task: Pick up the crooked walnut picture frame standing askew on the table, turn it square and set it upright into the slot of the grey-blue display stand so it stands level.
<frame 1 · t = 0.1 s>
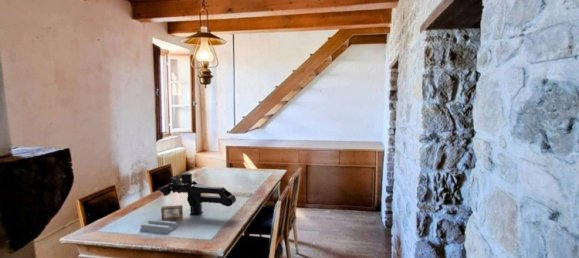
hand: (162, 186, 215), 16 cm above the table, tool horizontal, fingers open, 9 cm apart
picture frame: (172, 220, 198), on the table
display stand: (159, 228, 185), on the table
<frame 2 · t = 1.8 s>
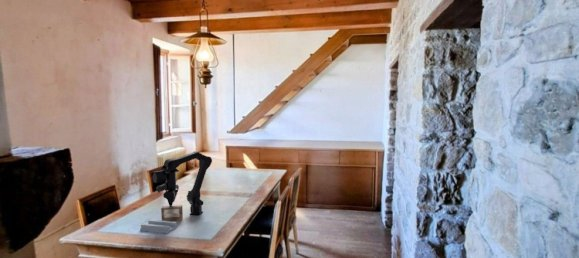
hand: (171, 204, 197), 10 cm above the table, tool pointing down, fingers open, 9 cm apart
nothing on the table moved.
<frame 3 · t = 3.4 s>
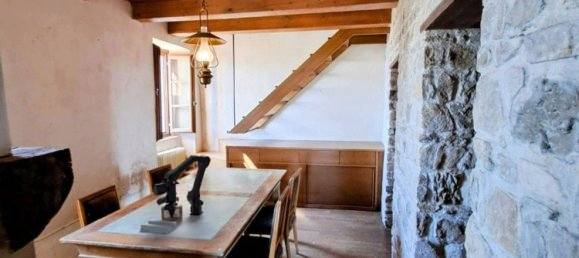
hand: (172, 216, 198), 3 cm above the table, tool pointing down, fingers closed on picture frame, 3 cm apart
picture frame: (172, 220, 198), on the table, touching gripper
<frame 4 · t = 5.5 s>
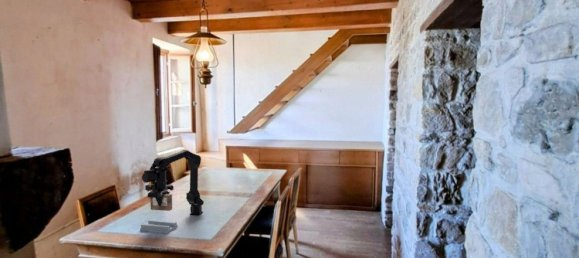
hand: (161, 205, 187), 13 cm above the table, tool pointing down, fingers closed on picture frame, 3 cm apart
picture frame: (161, 209, 188), point 10 cm above the table, touching gripper
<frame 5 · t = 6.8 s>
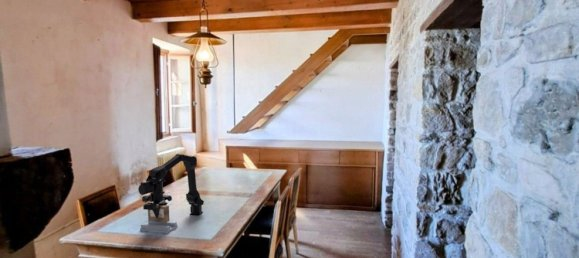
hand: (158, 216, 185), 7 cm above the table, tool pointing down, fingers closed on picture frame, 3 cm apart
picture frame: (158, 220, 185), point 5 cm above the table, touching gripper
when the fingers open (5 cm above the table, at t = 7.9 s): picture frame stays where it is, resting on display stand.
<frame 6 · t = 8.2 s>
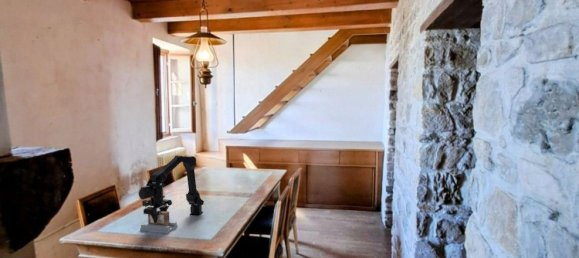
hand: (158, 220, 185), 5 cm above the table, tool pointing down, fingers open, 6 cm apart
picture frame: (159, 226, 185), point 1 cm above the table, touching display stand
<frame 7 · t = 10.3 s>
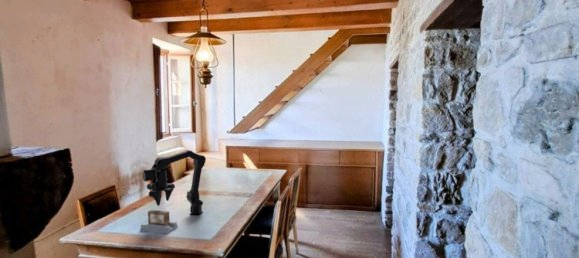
hand: (163, 203, 196), 12 cm above the table, tool pointing down, fingers open, 9 cm apart
nothing on the table moved.
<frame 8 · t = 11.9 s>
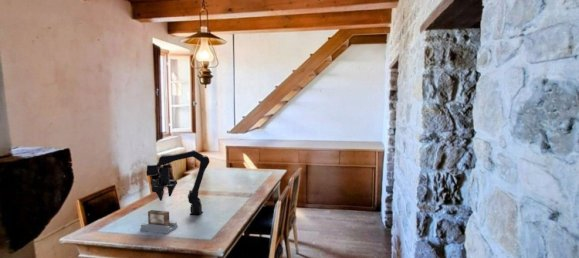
hand: (165, 198, 204), 12 cm above the table, tool pointing down, fingers open, 9 cm apart
nothing on the table moved.
at the end: picture frame 0.1 cm off-centre on the display stand, point 1.2 cm above the display stand's base; picture frame tilted 0°; the gripper is holding nothing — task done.
